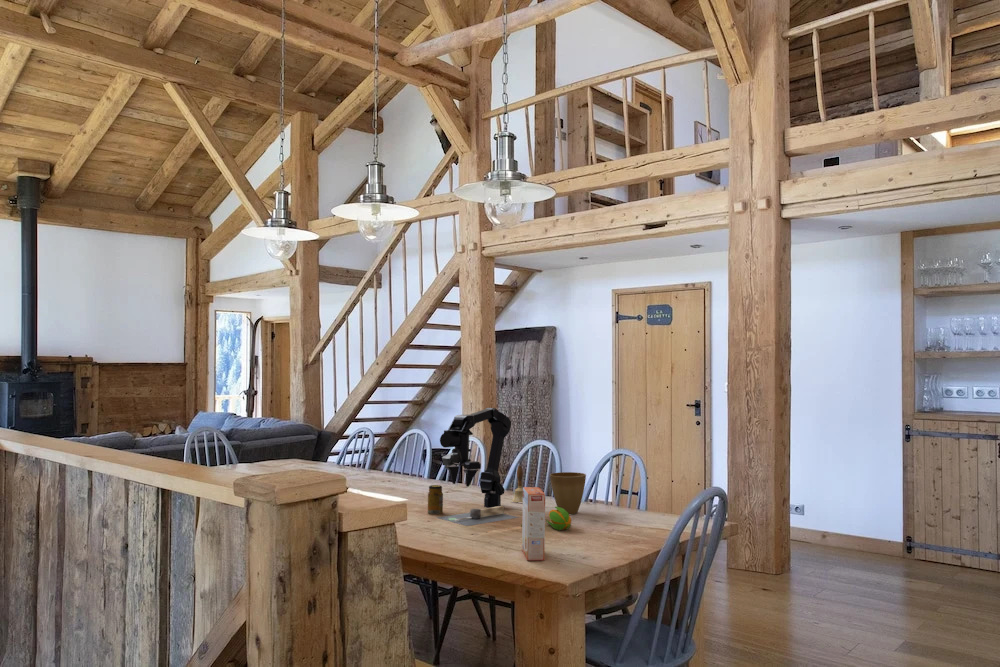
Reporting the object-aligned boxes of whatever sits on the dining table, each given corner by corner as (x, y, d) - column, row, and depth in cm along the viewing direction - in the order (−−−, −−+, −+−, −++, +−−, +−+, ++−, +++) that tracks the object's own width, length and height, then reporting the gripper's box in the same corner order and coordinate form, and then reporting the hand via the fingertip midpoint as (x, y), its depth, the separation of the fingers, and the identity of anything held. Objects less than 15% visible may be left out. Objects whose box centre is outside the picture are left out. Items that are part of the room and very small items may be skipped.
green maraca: (556, 511, 276) (541, 502, 295) (555, 533, 275) (540, 521, 295) (576, 512, 277) (559, 502, 297) (574, 533, 277) (558, 522, 296)
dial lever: (499, 512, 306) (499, 504, 307) (505, 514, 303) (506, 506, 303) (451, 520, 291) (451, 512, 291) (458, 522, 288) (458, 513, 288)
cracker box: (545, 561, 236) (546, 493, 236) (526, 561, 235) (526, 493, 236) (539, 550, 250) (540, 486, 250) (521, 550, 249) (521, 486, 250)
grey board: (487, 512, 314) (487, 509, 314) (519, 519, 299) (519, 517, 299) (436, 520, 297) (436, 517, 297) (467, 528, 282) (467, 525, 282)
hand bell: (508, 502, 336) (508, 466, 337) (514, 499, 344) (514, 464, 345) (526, 504, 333) (526, 467, 334) (531, 500, 341) (531, 465, 342)
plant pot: (587, 510, 319) (587, 472, 320) (584, 517, 304) (584, 477, 305) (551, 509, 322) (551, 471, 322) (547, 515, 307) (548, 476, 308)
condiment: (437, 513, 311) (437, 484, 312) (449, 516, 305) (449, 486, 305) (422, 515, 307) (422, 485, 307) (434, 518, 300) (434, 488, 301)
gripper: (432, 445, 310) (431, 483, 309) (459, 448, 295) (458, 489, 294) (454, 444, 317) (453, 482, 316) (482, 447, 303) (481, 487, 302)
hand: (460, 485), depth 307 cm, fingers open, 9 cm apart
